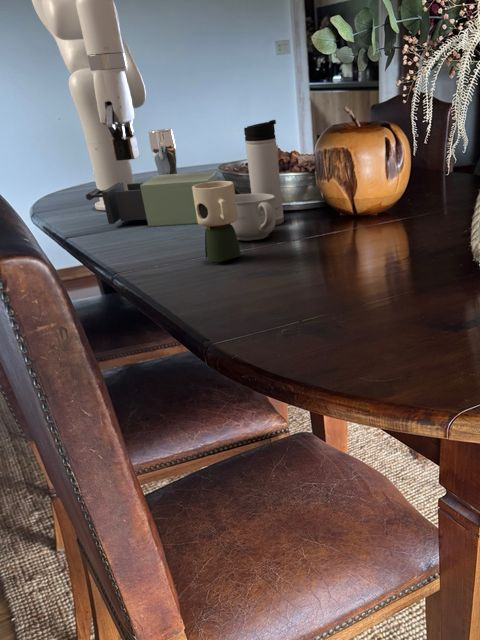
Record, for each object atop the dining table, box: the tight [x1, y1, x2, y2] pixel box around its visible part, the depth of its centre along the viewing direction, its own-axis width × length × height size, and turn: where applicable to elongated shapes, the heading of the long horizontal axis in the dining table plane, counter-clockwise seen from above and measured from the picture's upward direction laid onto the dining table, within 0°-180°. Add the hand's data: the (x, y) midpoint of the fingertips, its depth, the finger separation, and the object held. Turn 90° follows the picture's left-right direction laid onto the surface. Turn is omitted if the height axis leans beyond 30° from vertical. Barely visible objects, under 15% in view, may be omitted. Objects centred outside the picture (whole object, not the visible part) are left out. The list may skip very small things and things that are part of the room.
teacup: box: [231, 193, 276, 241], centre depth 126 cm, size 14×11×8 cm
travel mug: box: [243, 119, 285, 226], centre depth 134 cm, size 6×7×20 cm
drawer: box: [85, 182, 147, 225], centre depth 149 cm, size 18×12×7 cm, turn 87°
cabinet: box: [140, 170, 220, 227], centre depth 148 cm, size 15×13×9 cm
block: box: [112, 135, 141, 161], centre depth 143 cm, size 4×4×4 cm
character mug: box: [192, 180, 242, 263], centre depth 113 cm, size 11×7×13 cm, turn 24°
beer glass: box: [148, 128, 178, 175], centre depth 186 cm, size 7×7×15 cm
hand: (127, 157), depth 144 cm, fingers closed on block, 4 cm apart
